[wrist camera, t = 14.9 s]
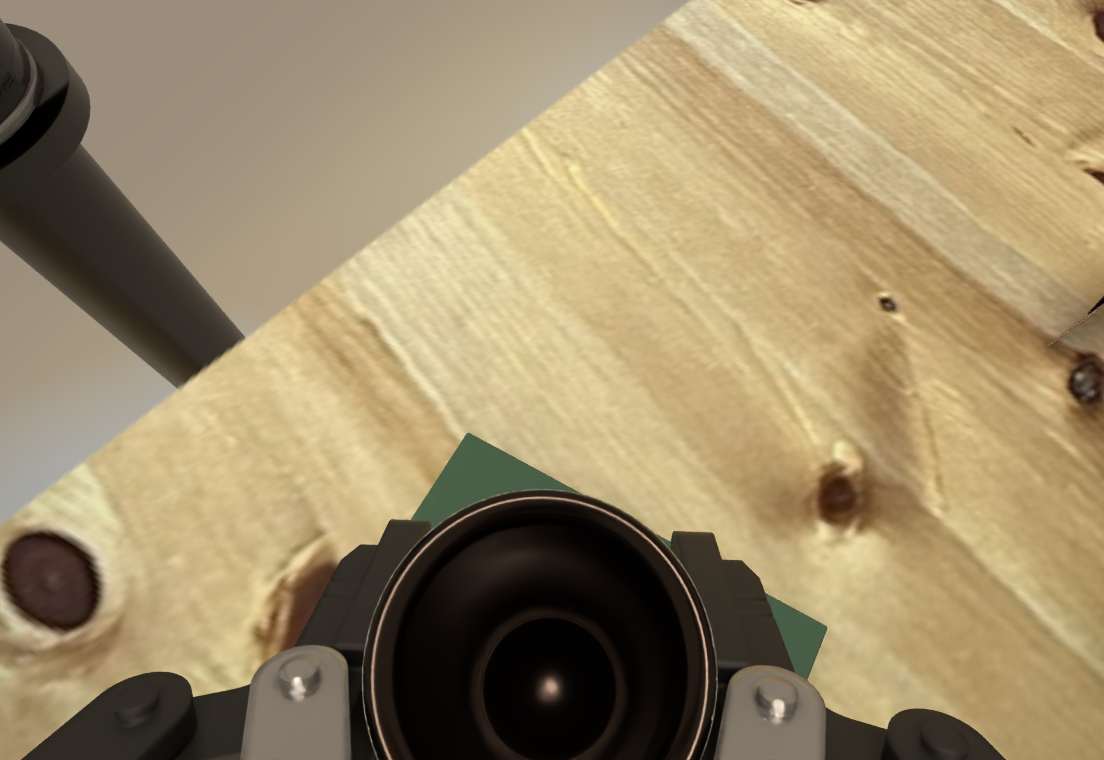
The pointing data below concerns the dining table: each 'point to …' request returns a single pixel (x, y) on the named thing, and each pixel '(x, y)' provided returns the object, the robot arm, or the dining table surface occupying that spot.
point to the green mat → (496, 472)
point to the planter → (540, 640)
